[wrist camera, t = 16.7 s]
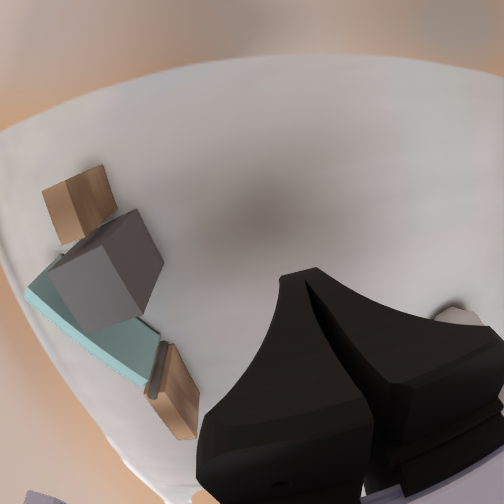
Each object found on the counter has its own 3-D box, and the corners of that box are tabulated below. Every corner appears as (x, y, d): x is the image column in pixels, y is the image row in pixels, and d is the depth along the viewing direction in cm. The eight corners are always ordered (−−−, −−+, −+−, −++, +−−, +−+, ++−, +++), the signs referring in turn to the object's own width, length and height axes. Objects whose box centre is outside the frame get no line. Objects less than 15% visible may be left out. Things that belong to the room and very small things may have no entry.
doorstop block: (164, 262, 20) (143, 314, 15) (116, 281, 20) (85, 333, 15) (136, 208, 18) (102, 245, 13) (88, 232, 19) (45, 273, 13)
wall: (199, 392, 25) (196, 442, 20) (182, 395, 25) (177, 444, 20) (102, 164, 17) (60, 182, 12) (82, 173, 17) (37, 193, 12)
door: (160, 336, 22) (148, 381, 18) (146, 348, 22) (134, 392, 18) (60, 254, 19) (27, 287, 15) (50, 270, 19) (19, 304, 15)
